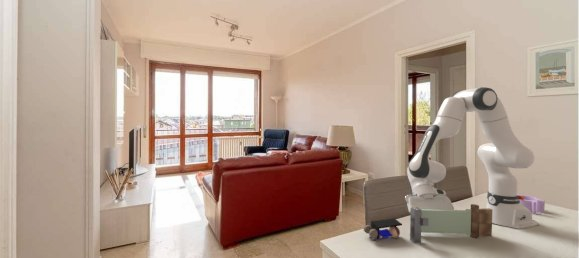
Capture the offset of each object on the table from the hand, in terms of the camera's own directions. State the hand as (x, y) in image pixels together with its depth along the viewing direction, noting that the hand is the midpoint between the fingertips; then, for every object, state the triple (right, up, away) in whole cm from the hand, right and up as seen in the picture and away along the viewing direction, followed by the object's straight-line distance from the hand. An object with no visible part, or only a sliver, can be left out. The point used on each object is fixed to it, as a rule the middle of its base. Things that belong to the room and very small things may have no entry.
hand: (436, 222), depth 117 cm
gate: (+1, -5, -1) cm, 5 cm away
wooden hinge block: (+18, -5, -2) cm, 19 cm away
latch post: (-11, -6, -7) cm, 14 cm away
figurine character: (-25, -6, -3) cm, 26 cm away
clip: (+67, -4, +34) cm, 76 cm away
